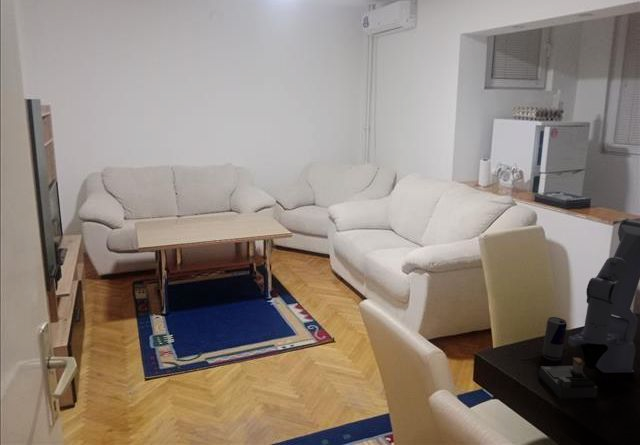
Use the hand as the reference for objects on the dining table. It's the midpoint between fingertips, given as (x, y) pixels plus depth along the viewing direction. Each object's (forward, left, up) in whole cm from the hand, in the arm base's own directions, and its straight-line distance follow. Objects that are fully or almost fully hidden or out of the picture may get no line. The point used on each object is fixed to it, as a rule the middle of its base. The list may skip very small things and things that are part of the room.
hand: (589, 367), depth 138 cm
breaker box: (+6, +1, -5) cm, 8 cm away
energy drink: (+2, -15, -5) cm, 16 cm away
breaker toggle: (+3, 0, -2) cm, 4 cm away
